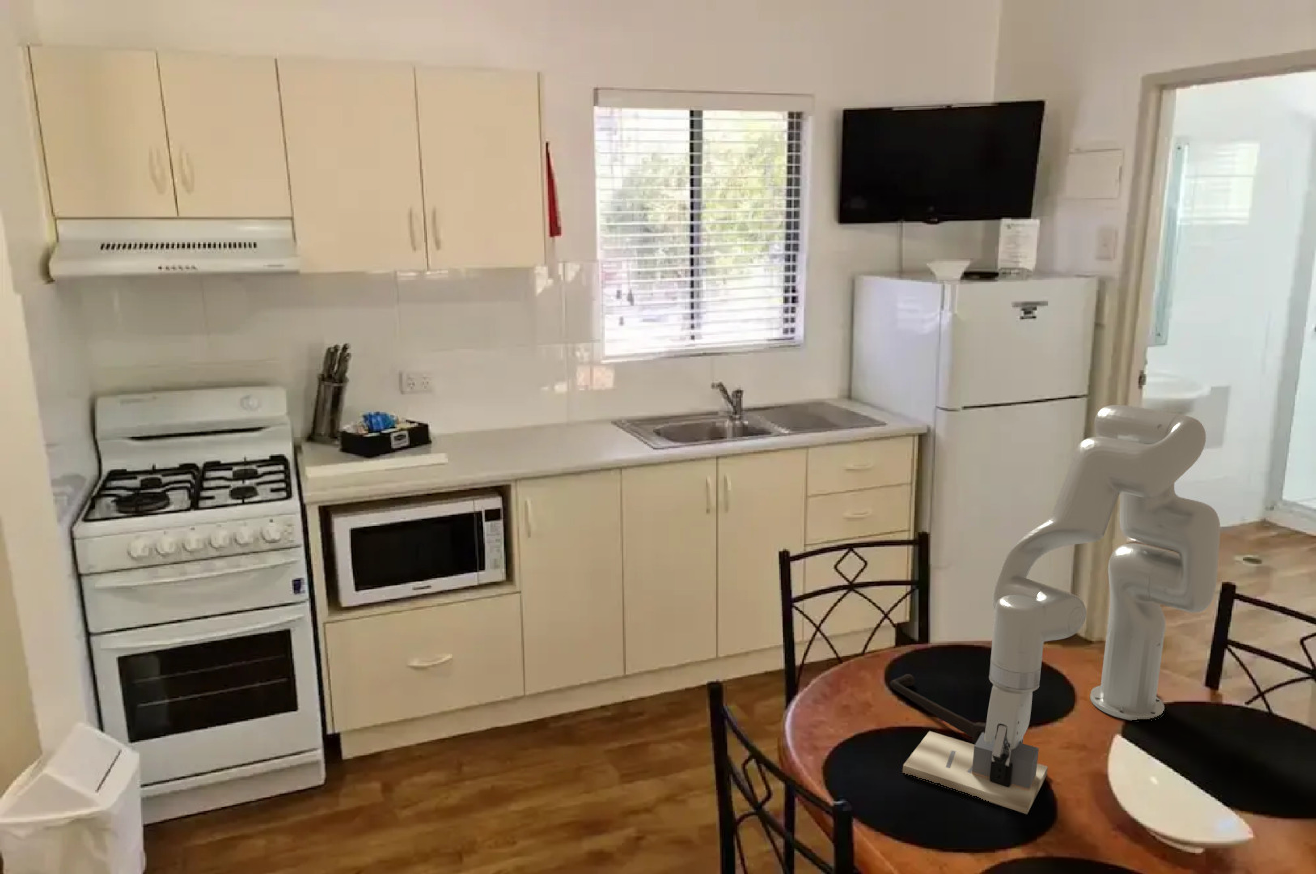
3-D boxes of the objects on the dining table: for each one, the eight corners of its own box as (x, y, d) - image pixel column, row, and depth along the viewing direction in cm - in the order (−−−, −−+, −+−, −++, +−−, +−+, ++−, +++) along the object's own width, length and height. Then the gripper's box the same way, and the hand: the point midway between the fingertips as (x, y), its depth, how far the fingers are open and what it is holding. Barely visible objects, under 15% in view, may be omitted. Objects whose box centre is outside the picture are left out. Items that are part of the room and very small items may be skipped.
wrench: (909, 690, 193) (1021, 755, 166) (888, 696, 191) (998, 763, 164) (908, 665, 192) (1021, 727, 165) (887, 672, 190) (998, 735, 163)
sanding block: (979, 759, 163) (982, 732, 162) (1035, 775, 159) (1038, 748, 157) (971, 773, 159) (974, 746, 158) (1029, 790, 154) (1032, 762, 153)
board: (928, 738, 172) (929, 731, 172) (1046, 774, 161) (1047, 766, 161) (902, 773, 162) (903, 765, 161) (1027, 814, 151) (1027, 805, 151)
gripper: (1005, 647, 163) (996, 744, 168) (974, 688, 150) (966, 793, 154) (1052, 658, 159) (1042, 758, 163) (1025, 701, 145) (1014, 809, 150)
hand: (1005, 773), depth 159 cm, fingers open, 5 cm apart
